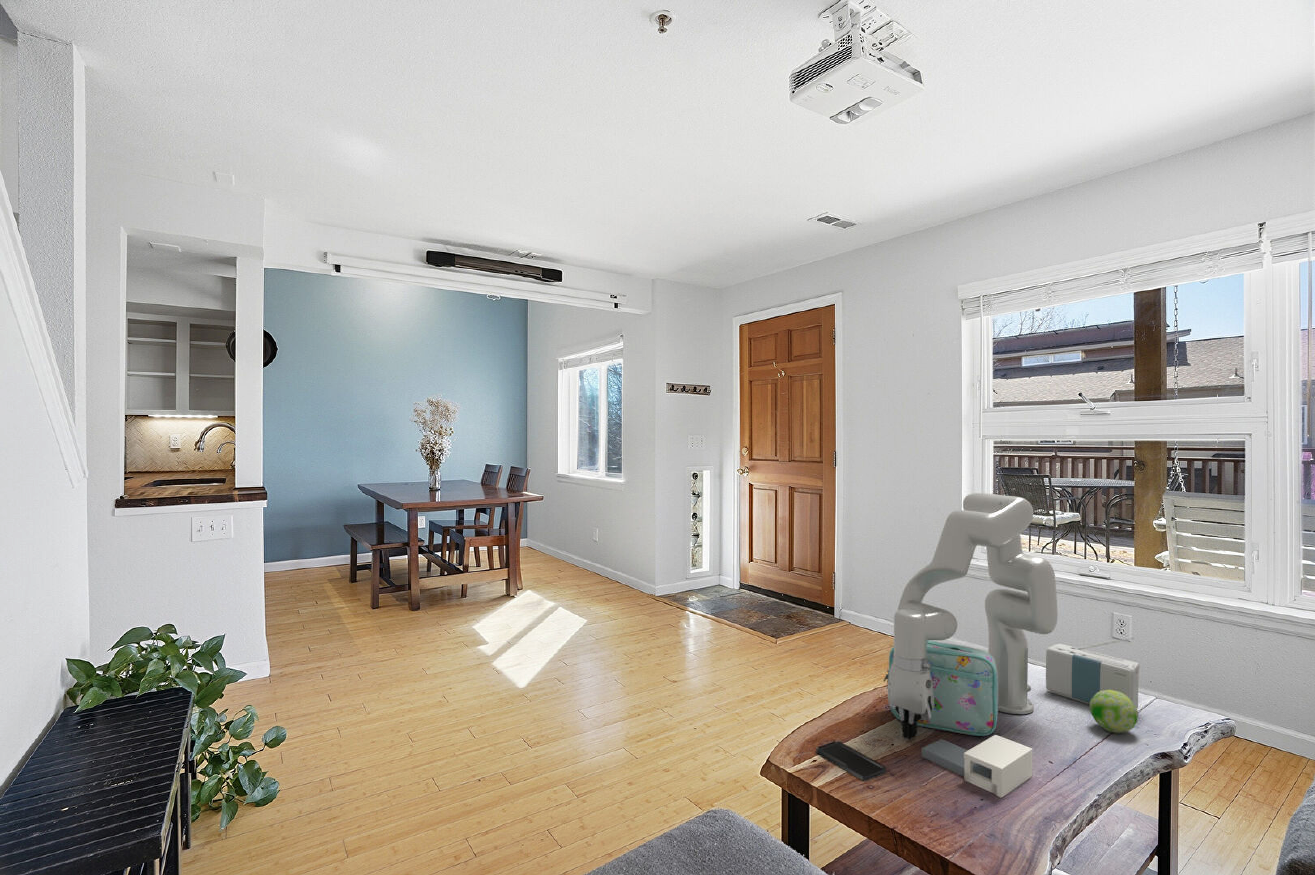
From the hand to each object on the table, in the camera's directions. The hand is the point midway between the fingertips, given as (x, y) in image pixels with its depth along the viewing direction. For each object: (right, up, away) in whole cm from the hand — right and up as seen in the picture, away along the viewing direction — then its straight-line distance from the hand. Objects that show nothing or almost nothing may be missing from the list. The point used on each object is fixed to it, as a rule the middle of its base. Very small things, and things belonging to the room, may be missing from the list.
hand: (909, 736), depth 157 cm
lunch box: (+11, -1, +9) cm, 14 cm away
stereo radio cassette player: (+60, -1, +22) cm, 64 cm away
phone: (-17, -2, -10) cm, 20 cm away
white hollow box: (+12, -1, -17) cm, 21 cm away
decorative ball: (+53, -1, +5) cm, 54 cm away
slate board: (+8, -2, -12) cm, 14 cm away
